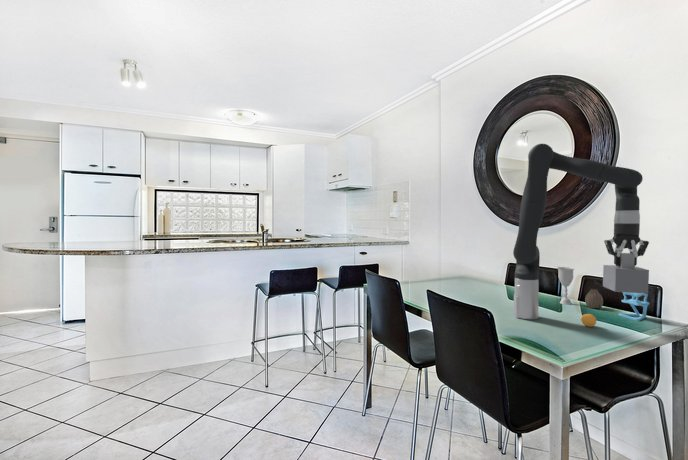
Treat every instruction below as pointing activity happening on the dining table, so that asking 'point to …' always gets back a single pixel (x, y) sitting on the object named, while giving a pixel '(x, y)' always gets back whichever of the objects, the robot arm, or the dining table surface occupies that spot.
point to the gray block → (626, 276)
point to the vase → (594, 299)
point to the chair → (635, 302)
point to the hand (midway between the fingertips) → (625, 266)
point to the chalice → (565, 281)
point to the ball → (588, 320)
